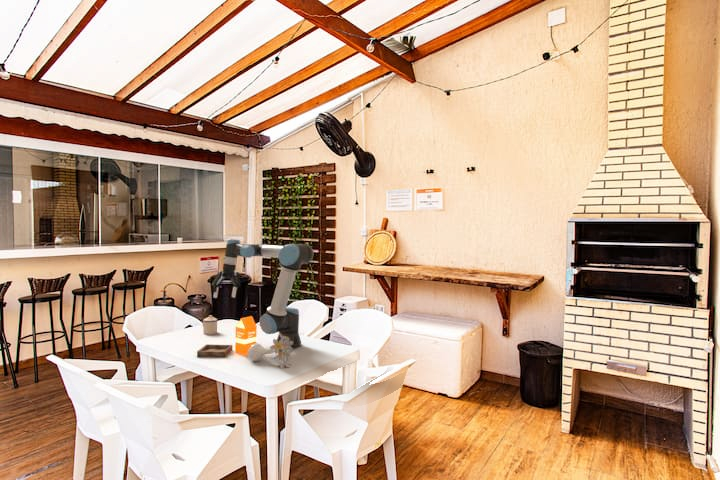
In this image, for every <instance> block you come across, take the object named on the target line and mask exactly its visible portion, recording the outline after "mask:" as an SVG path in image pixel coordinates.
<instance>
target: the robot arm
mask: <svg viewBox="0 0 720 480" xmlns="http://www.w3.org/2000/svg"><path fill="white" fill-rule="evenodd" d="M224 253H225V255H224V259H223V265H222V271H221V270H218V271H217V274H216V276H215V277H214V279H213V281H212V282H211V285H210V286H212V287H213V291H212V292H213V298H214V299H217V298H218V296H219V295H218V294H219V289H220V288H219V286H220V284H222V283H223V282H224V280H226V279H229V280H231V283H232V285H233V287H232V292H231V298H236V295H237V292H238V288H240V287H241V281H240V277H239V273H240V272H239V271H236V268H237V265H236V264H238V263H237V262H238V257H243V258H246V259H250V258H252V257H262V258H263V257H264V258H265V257H266V258H268V257H269V258H277V259H278V261H279V266H280V267H281V270H280V273H279V276H278V279H277V284H276V286H275V290H274V294H273V295H272V296H273V297H272V300H271V304H270V306H268V307H267V308H266V312H265V313H264V314H263V315H261V316H260V317H259V327H260V329H261V330H262V332H264V333H265V335H271V334H272V335H273V334H276V333H278V336H277V338H276V340H277V342H279V341H280V340H281V337H280V335H279V333H280V334H282V337H283V336H286V337H289V342H290V341H293V342H294V343H293V344H292V345H290V346H291V347H292V349H293V350H294V349H298V348H300V347H301V346H302V340H301V337H300V334H299V333H300V332H299V329H300V328H299V324H300V312H299V309H298V308H295V307H287V306H288V302H289V299H290V295H291V292H292V288H293V285H294V283H295V278H296V274H297V273H298V272H299V271H301V267H302V265H306V264H309V263H310V262H311V261H312V260H313V258H314V255H315V254H314V250H313V248H312V247H311V246H310V245H309V244H306V243H289V244H285V245H276V244H275V245H274V244H264V243H263V244H262V243H260V244H259V243H258V244H243V243H241V241H240V240H239V239H234V238H228V239H227V242H226V245H225V252H224ZM284 341H285V340H283V343H284Z"/></svg>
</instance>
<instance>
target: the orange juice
mask: <svg viewBox="0 0 720 480" xmlns="http://www.w3.org/2000/svg"><path fill="white" fill-rule="evenodd" d="M234 341H235V345H234V346H235V347H234V348H235V349H234V353H236V354H239V355H242V356H245V355H248V349H249V348H250V347H251V346H252V345H253V344H256V343H257V324H256V322H255V320H254V317H253V316H252V315H249V316H246V317H241V318H240V320H239V321H238V323H237V324H236V326H235V340H234Z"/></svg>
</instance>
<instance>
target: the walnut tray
mask: <svg viewBox="0 0 720 480" xmlns="http://www.w3.org/2000/svg"><path fill="white" fill-rule="evenodd" d="M232 351H233V344H207V343H206V344H204V346H202V347H201V348H200V349H198V350H197V352H196V354H197V355H196V357H197V358H226V357H227V356H228V355H229V354H230V353H231V352H232Z"/></svg>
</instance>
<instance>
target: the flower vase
mask: <svg viewBox="0 0 720 480" xmlns="http://www.w3.org/2000/svg"><path fill="white" fill-rule="evenodd" d="M278 335H280V337H281V340H280V341H279V342H277V338H276V339H275V338H273V340H272V342H273V345H270V346H269V347H264V346H263V345H261V344H260V343H257V342H256V344H253V345H252V346H251V347H250V348H249V349H248V354H247V356H248V358H249V359H250V360H252V362H259V361H261V360H262V359H263V358H264V356H266V355H268V354H272V353H273V354H276V355H275V356H274V358H273V359H275V360H276V359H278V361H282V362H281V363H279V364H277V365H276V367H279V369H284V368H285V367H286V368H291V364H290V363H288V361H289V359H292V357H293V356H292V353H293V352H294V351H295V350H294V348H293V349H292V347H291V346H290V345H292V344H293V343H294V342H293V341H290V342H289V337H286V336H283V337H282V334H280V333H279V332H278ZM283 340H285V341H284V343H283ZM282 359H283V360H282Z"/></svg>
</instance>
